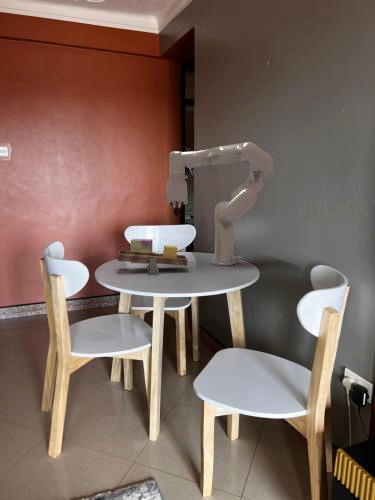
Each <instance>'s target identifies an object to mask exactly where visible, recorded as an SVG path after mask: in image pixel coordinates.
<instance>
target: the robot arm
mask: <svg viewBox="0 0 375 500" xmlns="http://www.w3.org/2000/svg"><path fill="white" fill-rule="evenodd" d="M168 154H169V155H168V160H169V161H168V162H169V163H168V168H169V169H168V173H169V175H168V180H167V182H166V188H165V189H166V191H165V192H166V193H165V197H166V198H165V199H166V200H165V204H166V205H170V206H171V207H172V209H173V215H174V217H179V215H181V208H182V206H184V205H187V204H188V203H189V202H188V185H187V180H186V179H188V177H189V176H188V175H186V171H185V170H186V168H188V169H189V168H190V169H191V168H192V169H193V168H197V167H202V166H211V165H212V166H216V165H225V164H230V163H236V162H237V163H238V162H243V161H244V162H245V161H247V162H248V163H249V165H250V166H249V167H250V173H249V176H248V177H247V179H246V180H244V182H242V183H241V184H240V185H239V186H238V187H237V188H236V189H234V191H233V192H232V193H231V195H230V198H231V200H230V201H220V202H218V203H217V204H216V206H215V207H214V210H213V213H214V214H213V217H214V229H215V230H214V257H213V259H211V261H210V262H211V264H212V265H216V266H233V264H234V265H236V262H237V260H238V261H239V260H243V256H242V255H235V254H234V241H235V240H234V236H235V235H234V233H235V225H234V223H235V222H237V221H238V220H239V219H240V218H242V217H243V216H244V215H245V214H246V213H247V212H249V210H250V209H252V207H254V205H255V204H256V202H257V197H258V196H257V194H258V193H259V191H260V190H261V189H262V188H263V187H264V185H263V178H262V175H261V174H265V175H266V174H270V173H272V172H273V171H274V170H273V159H274V158H273V157H272V156H271V155H270V154H268V153H267V152H266V151H264V149H262V148H261V147H260V146H258V145H257V144H255V143H254V142H252V141H246V142H239V143H235V144H228V145H227V144H226V145H221V146H215V147H212V148H208V149H204V150H203V149H202V150H197V151H194V150H193V151H184V152H183V151H179V150H178V151H175V150H174V151H170V152H169V153H168ZM272 170H273V171H272ZM176 202H177V206H176Z"/></svg>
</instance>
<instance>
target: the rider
mask: <svg viewBox="0 0 375 500" xmlns="http://www.w3.org/2000/svg"><path fill="white" fill-rule="evenodd" d="M162 254H163V258H173V259H177V255H178V246H176V245H170V244H169V245H167V244H164V245H163V253H162Z"/></svg>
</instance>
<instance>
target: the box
mask: <svg viewBox="0 0 375 500" xmlns="http://www.w3.org/2000/svg"><path fill="white" fill-rule="evenodd" d="M130 251H132V252H145V253H149V252H153V239H147V238H132V239H130ZM130 263H131V264H132V263H134V264H135V263H137V264H142V263H141V262H130Z"/></svg>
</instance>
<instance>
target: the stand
mask: <svg viewBox="0 0 375 500" xmlns="http://www.w3.org/2000/svg"><path fill="white" fill-rule="evenodd" d="M149 253H156V252H154V251H152V252H149ZM146 269H147V270H146V271H147V276H159V275H160V272H159V267H158V264H157V259H156V258H150V263H148V264H147V265H146Z"/></svg>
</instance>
